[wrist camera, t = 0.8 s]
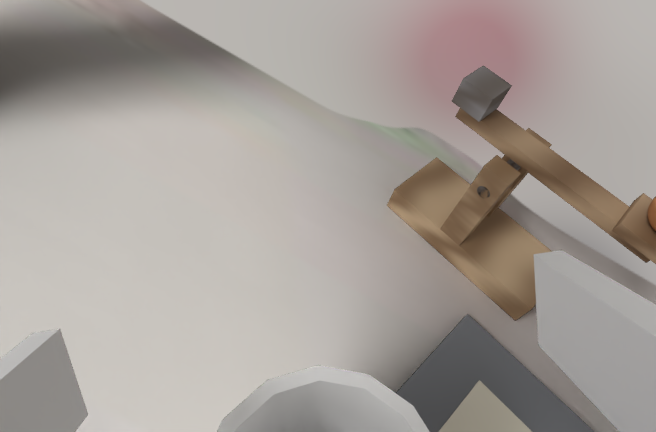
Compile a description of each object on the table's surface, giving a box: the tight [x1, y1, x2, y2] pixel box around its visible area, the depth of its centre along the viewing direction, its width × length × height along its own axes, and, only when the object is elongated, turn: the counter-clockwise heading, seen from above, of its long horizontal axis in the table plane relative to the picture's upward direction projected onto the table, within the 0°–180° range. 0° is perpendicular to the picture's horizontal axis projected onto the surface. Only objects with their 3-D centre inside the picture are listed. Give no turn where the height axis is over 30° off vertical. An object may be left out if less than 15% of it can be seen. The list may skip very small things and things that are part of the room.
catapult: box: [387, 66, 656, 321], centre depth 32 cm, size 17×6×15 cm, turn 44°
